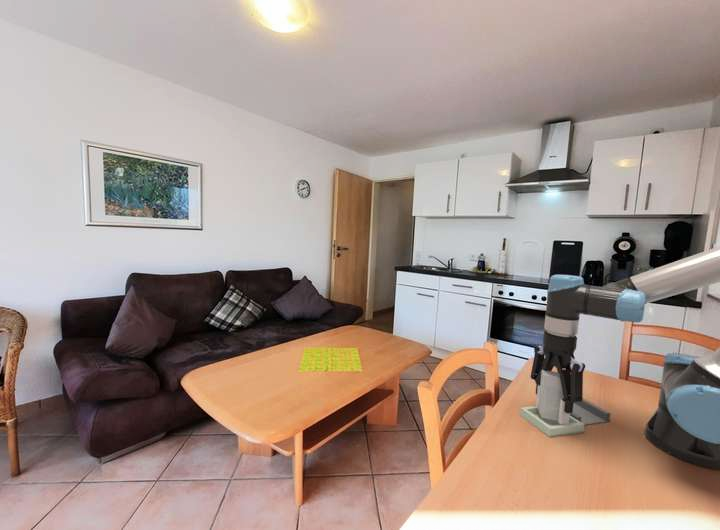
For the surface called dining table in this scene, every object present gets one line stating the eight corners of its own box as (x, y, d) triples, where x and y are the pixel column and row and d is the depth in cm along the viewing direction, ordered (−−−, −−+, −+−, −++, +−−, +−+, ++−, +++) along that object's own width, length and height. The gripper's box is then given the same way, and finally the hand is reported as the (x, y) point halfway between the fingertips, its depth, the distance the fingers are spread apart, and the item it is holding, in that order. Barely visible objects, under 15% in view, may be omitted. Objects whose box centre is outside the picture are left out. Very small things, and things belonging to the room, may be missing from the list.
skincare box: (561, 414, 85) (566, 373, 84) (566, 423, 81) (571, 379, 80) (537, 409, 87) (541, 369, 86) (540, 417, 83) (545, 375, 82)
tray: (583, 432, 81) (584, 424, 81) (549, 437, 78) (550, 429, 78) (551, 411, 90) (551, 404, 90) (520, 415, 88) (520, 407, 87)
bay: (609, 421, 86) (610, 413, 86) (576, 426, 83) (577, 417, 83) (573, 401, 97) (574, 393, 97) (542, 404, 94) (543, 396, 94)
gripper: (608, 344, 73) (597, 435, 75) (541, 322, 92) (534, 395, 94) (584, 346, 72) (573, 439, 74) (520, 322, 90) (513, 397, 92)
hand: (551, 414), depth 84 cm, fingers closed on skincare box, 7 cm apart
